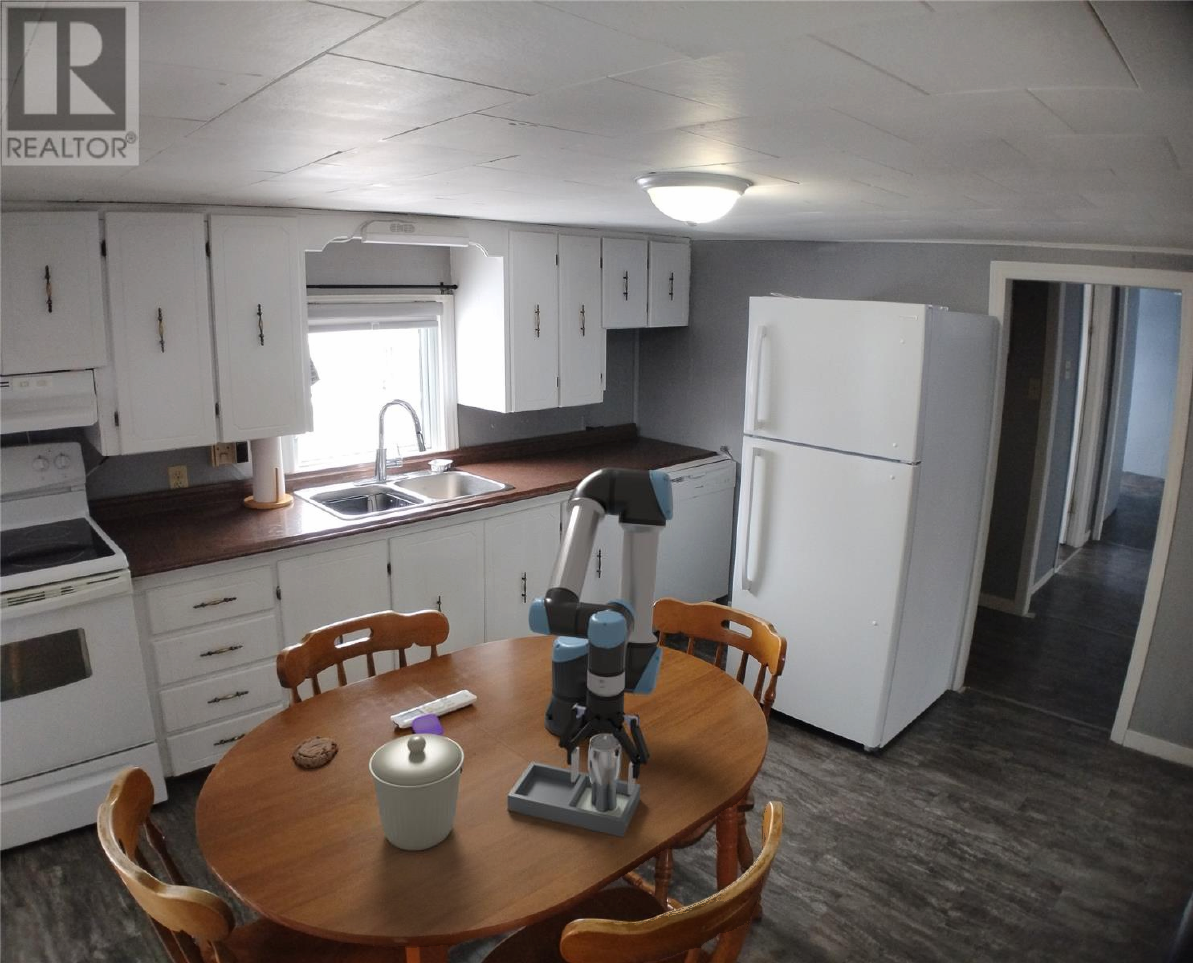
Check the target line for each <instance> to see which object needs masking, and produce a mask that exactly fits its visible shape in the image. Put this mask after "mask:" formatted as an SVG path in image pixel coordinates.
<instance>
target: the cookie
mask: <svg viewBox="0 0 1193 963" xmlns="http://www.w3.org/2000/svg"><path fill="white" fill-rule="evenodd" d="M338 750H339V745H338V742H336V740H334V739H333V738H329V737H322V736H321V735H315V736H311V737H310V738H307V739H304V740H302V741H300V742H299V743H298V745H296V746H295V747H294V748H293V749H292V756H293V758H294V759H295V760H294V762H296V765H298V766H301V767H303V768H304V769H309V768H311V769H314V768H318V767H321V766H323V765H325V764H326V763H328V761H331V759H332V758H333V756H334V754H335V753H336V752H338Z"/></svg>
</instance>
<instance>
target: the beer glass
mask: <svg viewBox="0 0 1193 963" xmlns="http://www.w3.org/2000/svg"><path fill="white" fill-rule="evenodd" d="M588 741H589V744H588V753H587V769H588V774H589V777H590V782H591V790H592V793H591V799H590V803H589V807H590V809H591V811H593V812H597V813H602V814H606V815H611V814H613V813H615V812H616V811H617V810H618V800H617V787H618V782H619V780H620V776H621V772H622V763H623V753H622V752H623V750H622V749H623V748H622V746H621V745H620V743H619V741H618V740H617V739H616V738H615V737H614V736H613V734H612V733H611V734H608V733H605V732H603V733H596V734H594V735H592V737H591V738H589V740H588Z"/></svg>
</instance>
